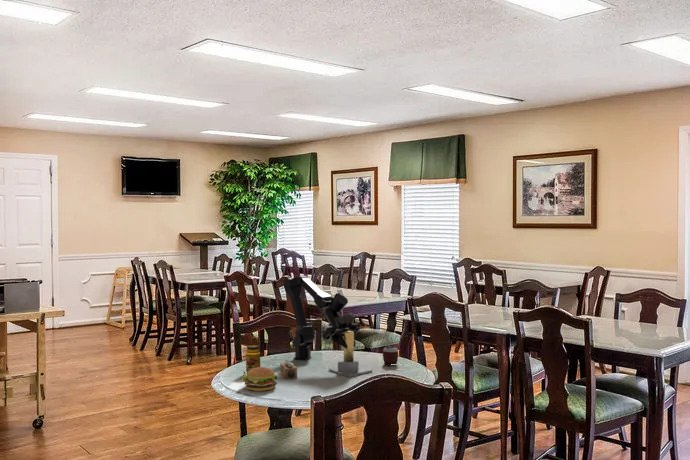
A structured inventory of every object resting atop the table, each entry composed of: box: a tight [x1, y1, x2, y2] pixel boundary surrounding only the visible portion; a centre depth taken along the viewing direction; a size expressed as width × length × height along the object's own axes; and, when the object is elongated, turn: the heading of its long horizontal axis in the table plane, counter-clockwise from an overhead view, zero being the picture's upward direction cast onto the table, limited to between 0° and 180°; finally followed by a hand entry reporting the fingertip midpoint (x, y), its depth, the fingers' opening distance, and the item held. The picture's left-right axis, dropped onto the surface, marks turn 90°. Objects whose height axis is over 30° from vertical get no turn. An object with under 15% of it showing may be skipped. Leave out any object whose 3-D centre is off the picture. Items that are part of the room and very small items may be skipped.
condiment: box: [245, 344, 261, 374], centre depth 280 cm, size 7×8×12 cm
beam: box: [279, 361, 298, 380], centre depth 277 cm, size 12×5×4 cm, turn 16°
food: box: [241, 366, 279, 392], centre depth 257 cm, size 14×14×8 cm
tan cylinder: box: [343, 331, 355, 361], centre depth 284 cm, size 4×4×13 cm
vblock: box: [328, 357, 373, 378], centre depth 283 cm, size 14×13×5 cm
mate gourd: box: [382, 330, 399, 367], centre depth 297 cm, size 8×8×15 cm
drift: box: [284, 359, 292, 368], centre depth 277 cm, size 9×2×2 cm, turn 16°
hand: (350, 347), depth 283 cm, fingers closed on tan cylinder, 4 cm apart
